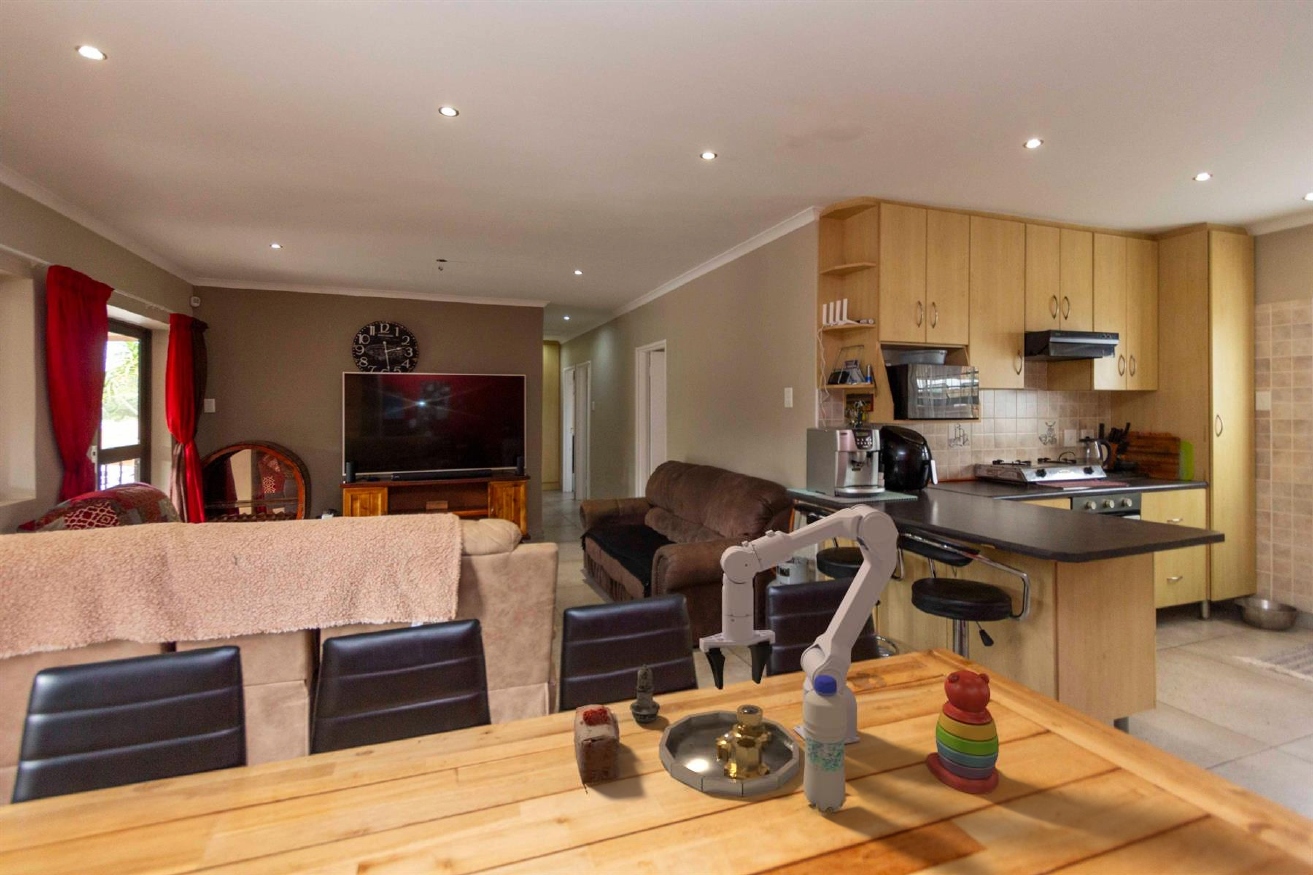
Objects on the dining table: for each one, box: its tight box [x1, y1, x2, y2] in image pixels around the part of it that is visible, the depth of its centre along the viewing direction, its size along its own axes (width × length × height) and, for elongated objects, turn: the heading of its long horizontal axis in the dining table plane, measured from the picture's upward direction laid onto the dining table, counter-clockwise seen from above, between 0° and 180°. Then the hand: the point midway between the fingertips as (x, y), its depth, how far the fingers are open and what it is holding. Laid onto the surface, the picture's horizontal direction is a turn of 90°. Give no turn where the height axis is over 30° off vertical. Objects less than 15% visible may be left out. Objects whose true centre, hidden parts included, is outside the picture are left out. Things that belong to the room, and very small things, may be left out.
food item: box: [573, 704, 621, 790], centre depth 109 cm, size 14×8×10 cm, turn 13°
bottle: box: [802, 675, 848, 813], centre depth 98 cm, size 7×7×20 cm
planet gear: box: [724, 735, 770, 780], centre depth 104 cm, size 7×7×5 cm
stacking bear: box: [925, 669, 1000, 795], centre depth 105 cm, size 11×10×18 cm
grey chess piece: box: [629, 663, 661, 723], centre depth 123 cm, size 6×6×12 cm
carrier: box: [658, 704, 801, 797], centre depth 110 cm, size 24×24×7 cm
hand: (737, 684), depth 118 cm, fingers open, 7 cm apart
